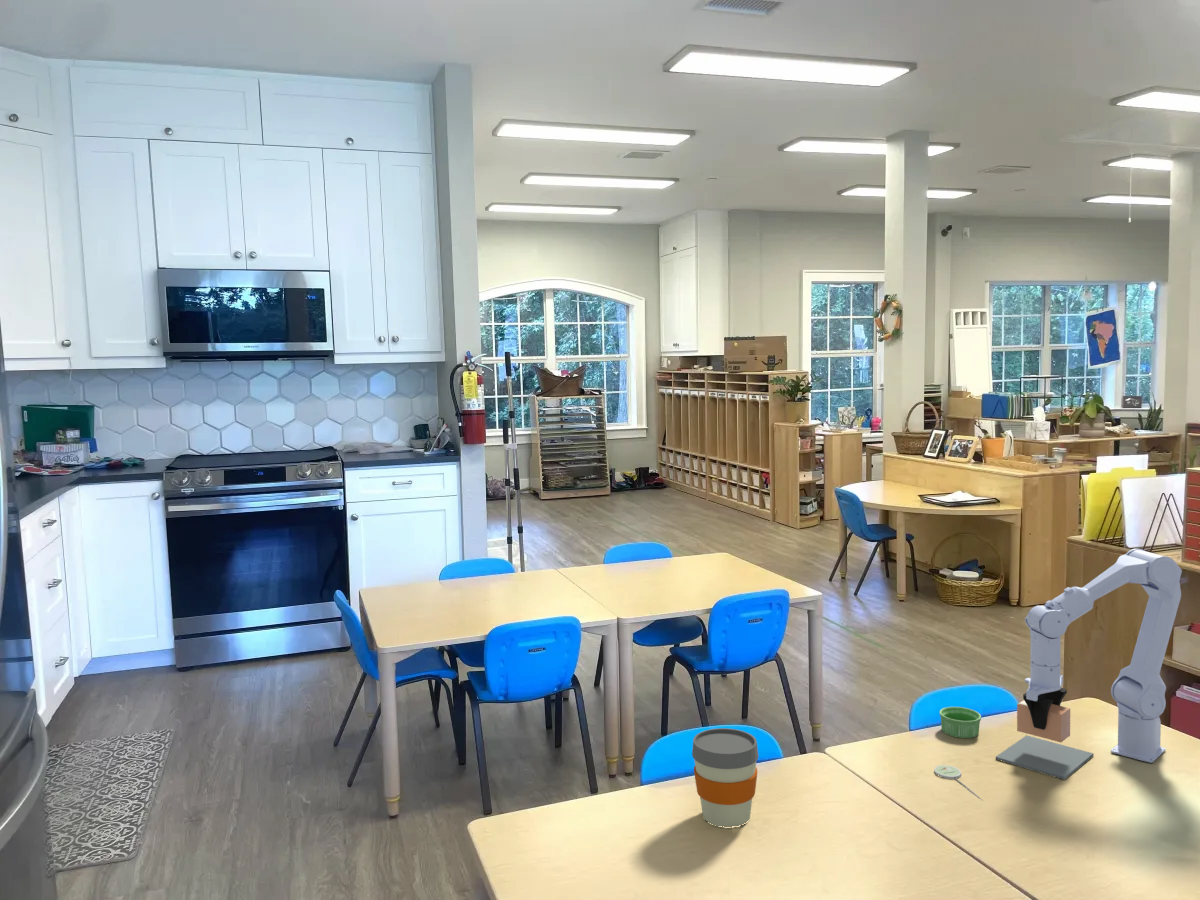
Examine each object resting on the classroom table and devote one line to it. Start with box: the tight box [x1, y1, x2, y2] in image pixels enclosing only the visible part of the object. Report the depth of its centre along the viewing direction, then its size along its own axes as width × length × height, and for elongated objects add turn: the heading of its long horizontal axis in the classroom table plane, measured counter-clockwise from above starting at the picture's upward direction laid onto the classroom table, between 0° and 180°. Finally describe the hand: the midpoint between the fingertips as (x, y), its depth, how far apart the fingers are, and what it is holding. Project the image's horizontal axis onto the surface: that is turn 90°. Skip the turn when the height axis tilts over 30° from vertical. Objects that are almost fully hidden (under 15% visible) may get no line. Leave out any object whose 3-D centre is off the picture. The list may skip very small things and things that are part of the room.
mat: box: [995, 735, 1094, 780], centre depth 187 cm, size 16×14×1 cm
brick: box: [1016, 699, 1071, 743], centre depth 187 cm, size 9×5×6 cm, turn 42°
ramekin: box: [939, 706, 982, 739], centre depth 202 cm, size 9×9×4 cm
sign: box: [934, 764, 983, 801], centre depth 177 cm, size 5×1×15 cm
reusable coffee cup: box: [691, 727, 759, 827], centre depth 166 cm, size 13×13×15 cm
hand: (1044, 724), depth 187 cm, fingers closed on brick, 5 cm apart
